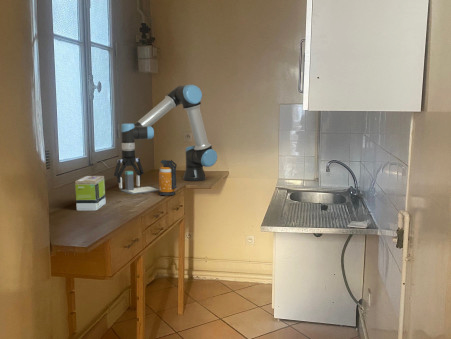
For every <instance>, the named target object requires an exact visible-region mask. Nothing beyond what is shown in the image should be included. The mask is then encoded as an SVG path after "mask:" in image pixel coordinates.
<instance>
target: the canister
mask: <svg viewBox="0 0 451 339" xmlns="http://www.w3.org/2000/svg"><path fill="white" fill-rule="evenodd" d="M160 164H161V165H162V166H160V167H159V171H158V189H159V191H158V194H159V195H160V196H164V197H169V196H173V195H175V194H176V189H177V188H178V185H177V163H176V162H174V161H173V160H172V159H171V160H170V159H169V160H167V159H162V160H160Z"/></svg>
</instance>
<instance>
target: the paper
mask: <svg viewBox="0 0 451 339" xmlns="http://www.w3.org/2000/svg"><path fill="white" fill-rule="evenodd" d="M119 191H121V192H124V193H126V194H129V195H139V194H146V193H154V192H159V188H156V187H154V186H150V185H149V186H141V187H140V186H138V187H134V190H129V191H128V190H125V188H121V189H119ZM138 193H139V194H138Z"/></svg>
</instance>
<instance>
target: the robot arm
mask: <svg viewBox="0 0 451 339" xmlns="http://www.w3.org/2000/svg"><path fill="white" fill-rule="evenodd" d="M202 98H203V93H202V90H201V89H200V88H199V87H198V86H197V85H195V84H185V85H184V84H183V85H178V86H176V87H175V88H173V89H172V90H170V91H169V92H168V93H166V95H165V96H164V99H163V100H162V101H160V102H159V103H158V104H156V105H155V106H154V107H153V108H151V110H150V111H148V112H147V113H145V115H144V116H142V117H141V118H140V119H139V120H138V121H136V122H135V123H133V122H132V123H122V124H121V126H120V127H121V128H120V132H121V134H120V135H121V159H117V160H116V166H115V170H114V174H113V176H114V177H115V178H116V177H117V178H116V179H117V180H116V181H117V184H118V188H119V189H123V178H122V175H123V173H124V172H125V169H126V167H129V166H130V167H132V168H133V169H134V171H135V172H136V177H135V178H136V179H135V180H136V182H135V183H136V184H135V185H136V186H137V187H140V185H141V184H140V183H141V182H140V181H141V180H142V178H141V177H142V175H144V174H145V173H144V169H143V167H142V163H141V158H139V157H137V158H136V150H135V149H136V145H135V144H136V142H135V141H136V140H151V139H153V138H154V137H155V130H154V128H153V127H152V126H153V125H154V124H155V123H156V122H158V121H159V120H160V119H161V118H163V116H165V115H166V114H168V112H169V111H171V110H172V109H176V108H177V107H178V106H180V105H182V108H183V110H185V111H186V114H187V117H188V122H189V126H190V129H191V133H192V136H193V138H192V139H193V142H194V145H191V146H186V147H185V170H184V173H183V178H182V179H183V181H189V182H199V181H205V180H206V173H205V170H204V168H209V167H212V166H214V165H215V164H216V162H217V160H218V154H217V151H216V150H214V149H213V146H212V143H209V139H208V136H207V132H206V128H205V123H204V120H203V116H202V113H201V108H200V106H201V105H202V102H201V101H202ZM135 162H136V163H135Z"/></svg>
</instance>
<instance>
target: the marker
mask: <svg viewBox="0 0 451 339" xmlns="http://www.w3.org/2000/svg"><path fill="white" fill-rule="evenodd" d="M124 184H125V188H124V189H125V190H128V191H129V190H134V188H135V186H134V171H133V170H124Z"/></svg>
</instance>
